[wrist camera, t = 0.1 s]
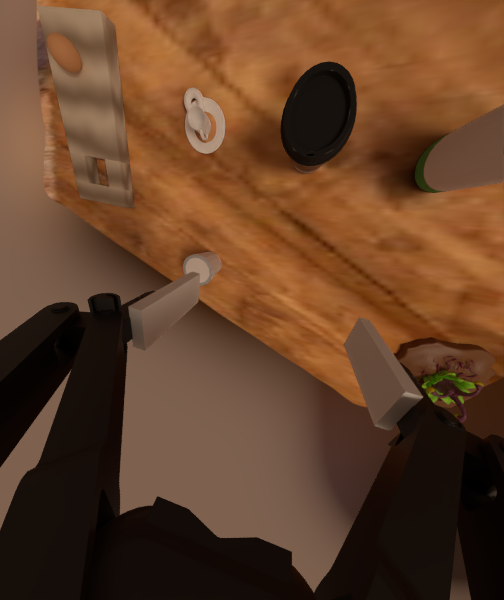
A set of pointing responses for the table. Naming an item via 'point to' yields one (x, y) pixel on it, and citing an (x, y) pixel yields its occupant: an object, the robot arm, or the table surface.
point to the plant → (448, 370)
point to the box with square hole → (92, 103)
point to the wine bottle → (465, 156)
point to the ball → (64, 52)
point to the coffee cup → (318, 116)
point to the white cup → (203, 265)
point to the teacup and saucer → (202, 121)
